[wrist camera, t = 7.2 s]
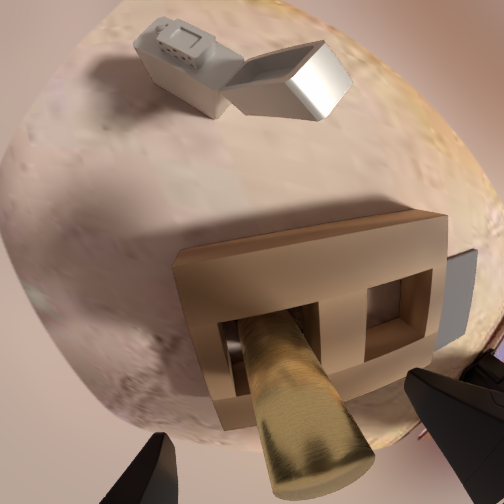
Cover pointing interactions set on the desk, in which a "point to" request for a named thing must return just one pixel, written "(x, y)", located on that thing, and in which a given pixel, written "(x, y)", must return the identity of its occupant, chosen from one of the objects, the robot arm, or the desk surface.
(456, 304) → the mat
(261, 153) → the desk surface
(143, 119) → the desk surface
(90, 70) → the desk surface
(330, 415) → the peg
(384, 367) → the hole block
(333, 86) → the lighter
